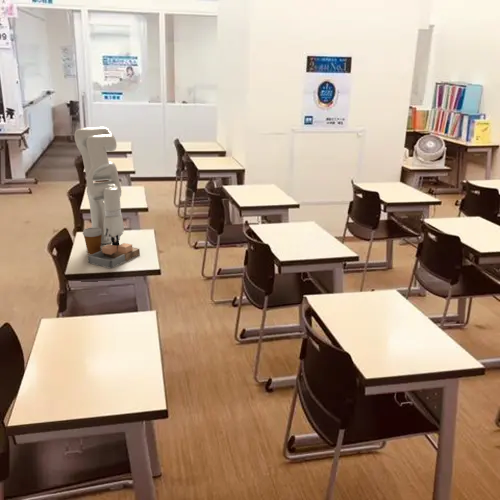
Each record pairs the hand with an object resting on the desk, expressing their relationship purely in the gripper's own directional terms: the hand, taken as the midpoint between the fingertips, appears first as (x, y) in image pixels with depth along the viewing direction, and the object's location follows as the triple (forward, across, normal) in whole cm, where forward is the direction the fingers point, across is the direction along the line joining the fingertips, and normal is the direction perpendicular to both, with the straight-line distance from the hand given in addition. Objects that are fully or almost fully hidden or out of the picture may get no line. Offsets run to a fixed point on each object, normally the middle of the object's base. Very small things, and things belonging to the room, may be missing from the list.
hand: (116, 248), depth 268 cm
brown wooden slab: (+4, -1, +3) cm, 5 cm away
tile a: (+1, +4, 0) cm, 4 cm away
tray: (+4, +9, +2) cm, 10 cm away
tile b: (+1, 0, +5) cm, 5 cm away
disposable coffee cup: (+4, +2, -12) cm, 13 cm away
